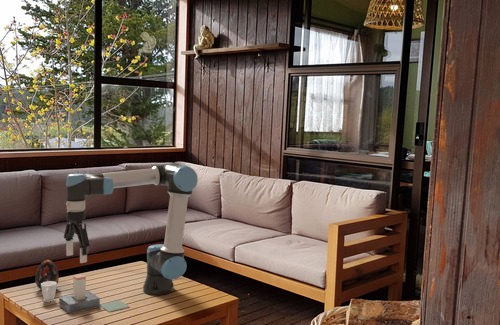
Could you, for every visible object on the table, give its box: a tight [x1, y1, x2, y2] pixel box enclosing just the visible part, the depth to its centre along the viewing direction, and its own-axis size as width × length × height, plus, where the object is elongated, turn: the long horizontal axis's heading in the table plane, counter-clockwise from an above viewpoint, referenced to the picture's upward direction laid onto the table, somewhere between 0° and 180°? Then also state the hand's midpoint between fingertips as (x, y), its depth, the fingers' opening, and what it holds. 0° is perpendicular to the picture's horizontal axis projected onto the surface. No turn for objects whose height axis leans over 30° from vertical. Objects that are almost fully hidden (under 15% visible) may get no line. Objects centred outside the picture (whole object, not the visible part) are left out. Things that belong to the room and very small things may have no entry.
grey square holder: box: [58, 290, 101, 314], centre depth 234 cm, size 14×12×4 cm
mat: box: [100, 299, 130, 313], centre depth 236 cm, size 10×10×1 cm
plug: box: [72, 274, 87, 301], centre depth 234 cm, size 4×4×14 cm
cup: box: [41, 281, 58, 303], centre depth 239 cm, size 7×10×8 cm
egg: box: [34, 259, 60, 292], centre depth 254 cm, size 11×11×15 cm
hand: (76, 258), depth 222 cm, fingers open, 13 cm apart
